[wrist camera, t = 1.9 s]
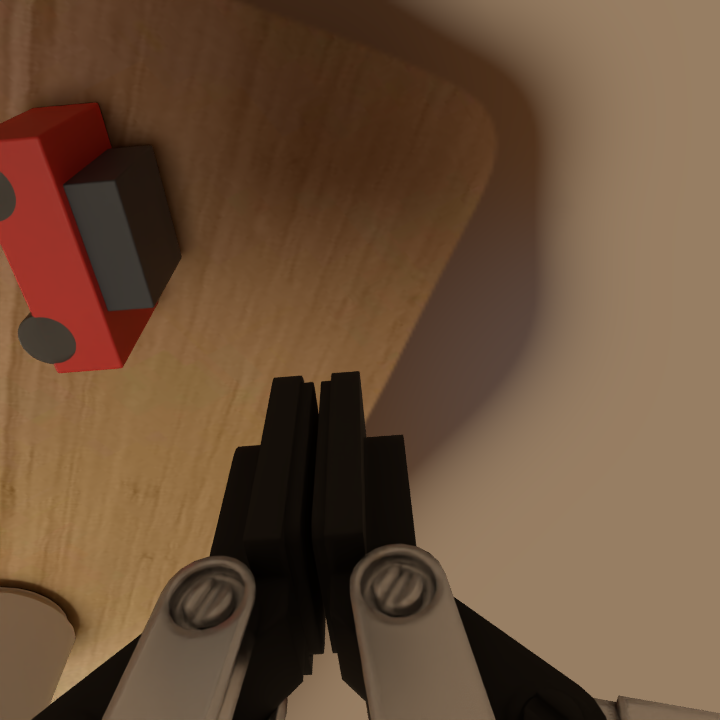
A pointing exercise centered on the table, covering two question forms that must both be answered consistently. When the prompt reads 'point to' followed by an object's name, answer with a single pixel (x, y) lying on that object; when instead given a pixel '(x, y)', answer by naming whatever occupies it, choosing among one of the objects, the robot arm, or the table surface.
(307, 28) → the table surface
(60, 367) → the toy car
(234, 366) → the table surface
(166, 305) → the table surface
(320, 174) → the table surface
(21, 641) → the can
